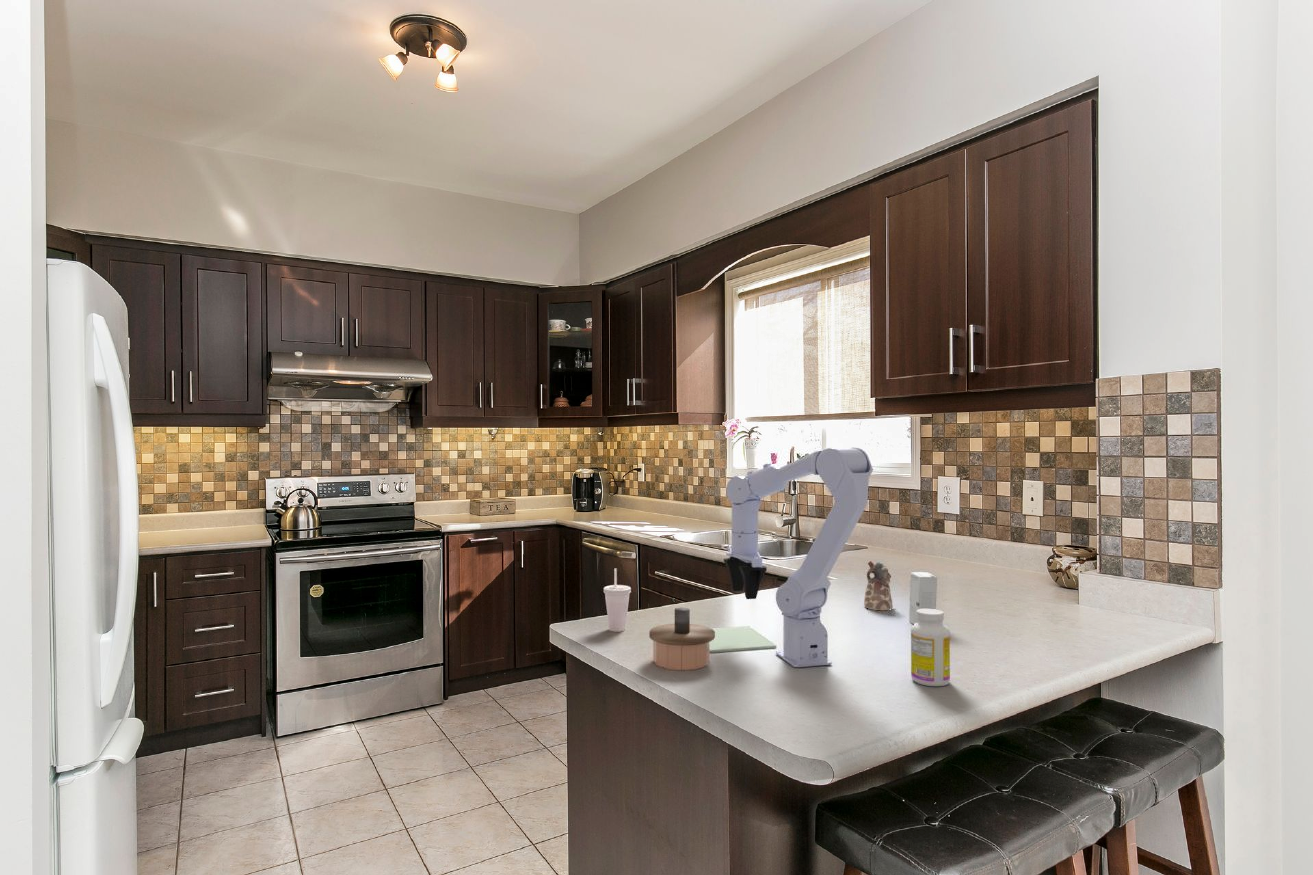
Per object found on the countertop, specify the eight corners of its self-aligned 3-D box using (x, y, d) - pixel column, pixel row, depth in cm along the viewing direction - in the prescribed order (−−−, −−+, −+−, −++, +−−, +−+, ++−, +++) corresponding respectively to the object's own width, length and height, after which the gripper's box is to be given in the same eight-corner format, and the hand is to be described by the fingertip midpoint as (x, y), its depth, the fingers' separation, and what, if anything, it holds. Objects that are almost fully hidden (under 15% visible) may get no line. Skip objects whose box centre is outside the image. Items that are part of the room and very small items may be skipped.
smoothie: (616, 624, 172) (616, 565, 172) (636, 629, 168) (636, 568, 168) (597, 629, 167) (597, 569, 167) (618, 634, 163) (618, 572, 163)
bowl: (715, 667, 141) (715, 641, 141) (661, 671, 138) (661, 645, 138) (699, 651, 151) (699, 627, 151) (648, 654, 149) (648, 630, 148)
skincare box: (908, 621, 175) (908, 571, 175) (926, 621, 175) (926, 571, 175) (918, 628, 169) (918, 576, 169) (937, 628, 169) (937, 576, 169)
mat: (776, 647, 154) (776, 645, 154) (704, 653, 150) (704, 650, 150) (749, 628, 169) (749, 625, 169) (682, 632, 165) (682, 630, 165)
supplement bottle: (940, 675, 136) (940, 606, 136) (956, 687, 130) (956, 615, 130) (905, 675, 136) (905, 606, 136) (919, 687, 130) (919, 615, 130)
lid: (725, 641, 140) (725, 614, 140) (661, 648, 136) (661, 619, 136) (700, 625, 153) (700, 599, 153) (641, 630, 149) (641, 604, 149)
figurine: (886, 612, 184) (887, 565, 184) (859, 608, 189) (860, 562, 189) (896, 607, 190) (896, 561, 190) (870, 603, 194) (870, 558, 194)
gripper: (715, 527, 163) (715, 588, 163) (740, 537, 149) (739, 603, 149) (745, 526, 165) (744, 586, 165) (771, 536, 151) (771, 601, 151)
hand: (744, 594), depth 157 cm, fingers open, 7 cm apart
